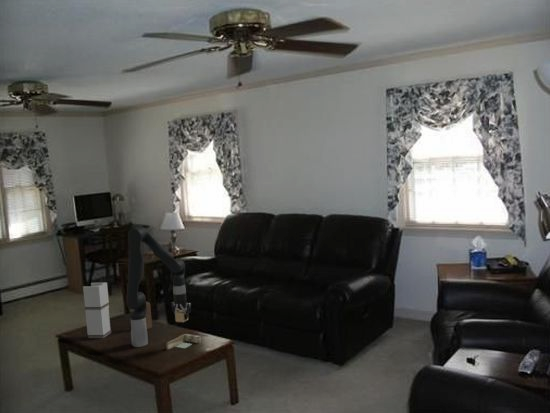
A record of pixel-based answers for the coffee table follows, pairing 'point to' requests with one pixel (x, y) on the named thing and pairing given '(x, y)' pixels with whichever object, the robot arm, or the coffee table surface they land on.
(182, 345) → the pad
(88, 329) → the stacked white cabinet
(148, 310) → the wooden block
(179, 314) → the ochre cube
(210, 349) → the coffee table surface
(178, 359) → the coffee table surface
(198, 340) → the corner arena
